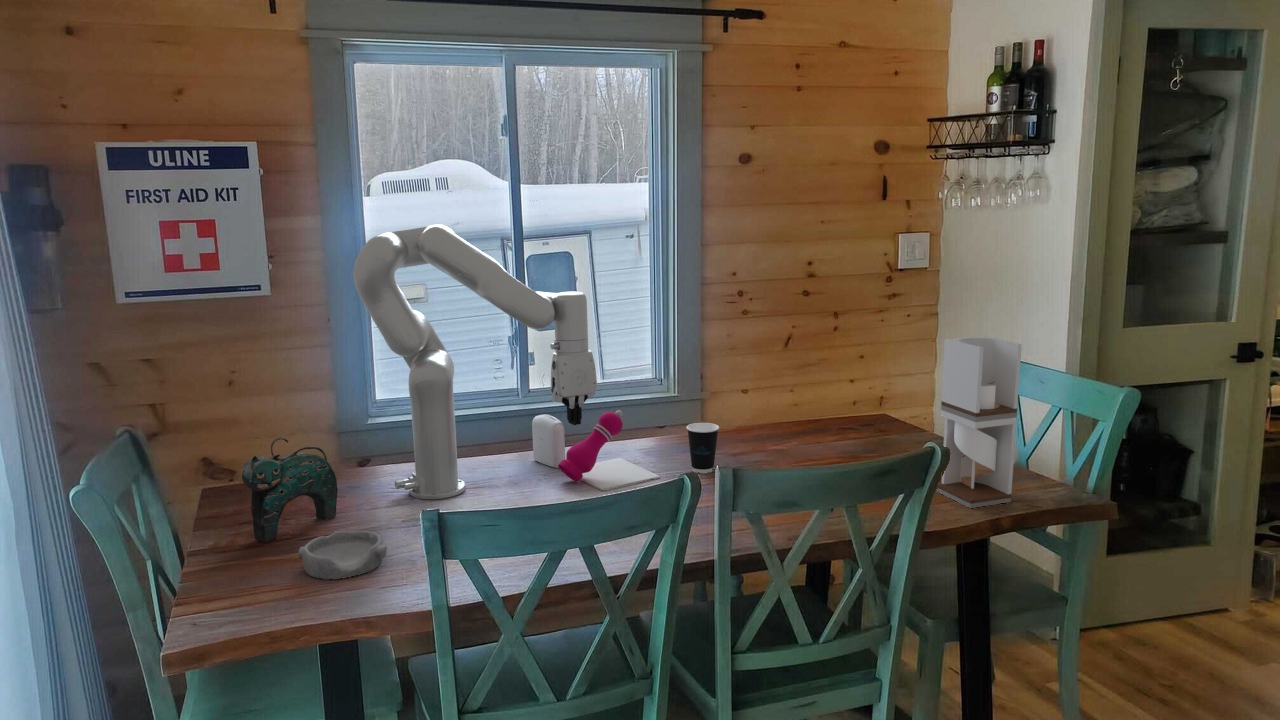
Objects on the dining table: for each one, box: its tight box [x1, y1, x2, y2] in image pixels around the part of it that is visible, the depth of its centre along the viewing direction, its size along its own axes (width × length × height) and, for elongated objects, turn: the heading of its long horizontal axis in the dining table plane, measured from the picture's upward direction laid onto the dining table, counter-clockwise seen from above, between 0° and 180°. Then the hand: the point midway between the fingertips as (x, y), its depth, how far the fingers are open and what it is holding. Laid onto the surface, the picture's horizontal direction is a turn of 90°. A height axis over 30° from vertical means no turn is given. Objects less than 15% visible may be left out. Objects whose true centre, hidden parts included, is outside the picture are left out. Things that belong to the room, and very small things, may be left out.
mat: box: [580, 457, 661, 491], centre depth 222 cm, size 16×18×1 cm
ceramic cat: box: [241, 437, 339, 544], centre depth 188 cm, size 20×6×20 cm, turn 145°
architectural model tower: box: [936, 335, 1023, 509], centre depth 200 cm, size 11×11×35 cm
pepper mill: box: [558, 409, 623, 483], centre depth 219 cm, size 7×7×20 cm
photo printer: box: [531, 414, 566, 469], centre depth 231 cm, size 10×4×12 cm, turn 39°
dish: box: [298, 530, 388, 580], centre depth 171 cm, size 14×14×5 cm
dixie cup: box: [685, 422, 720, 474], centre depth 224 cm, size 8×8×11 cm
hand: (574, 423), depth 214 cm, fingers closed
